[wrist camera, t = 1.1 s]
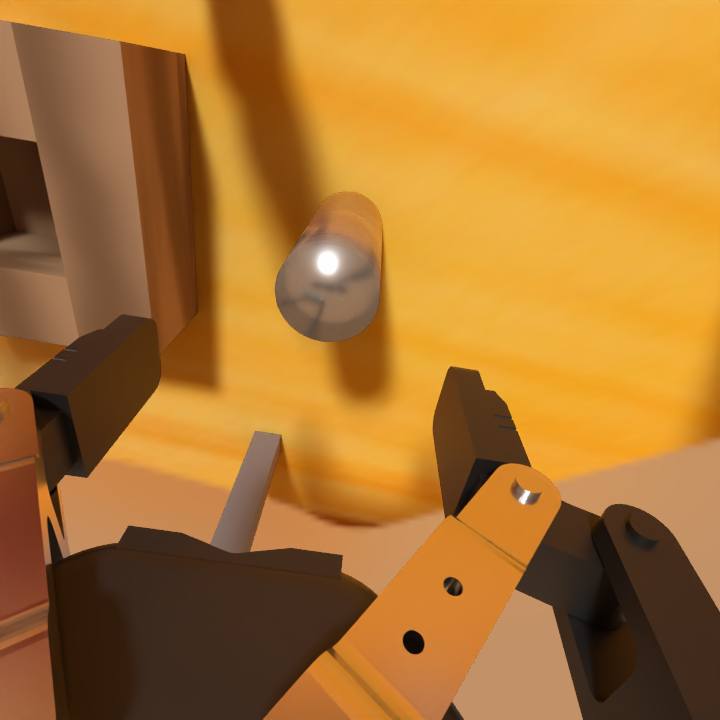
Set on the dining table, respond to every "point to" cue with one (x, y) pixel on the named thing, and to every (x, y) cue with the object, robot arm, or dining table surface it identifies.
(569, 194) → the dining table surface
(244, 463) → the small grey stool
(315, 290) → the peg
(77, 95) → the socket block
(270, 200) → the dining table surface
